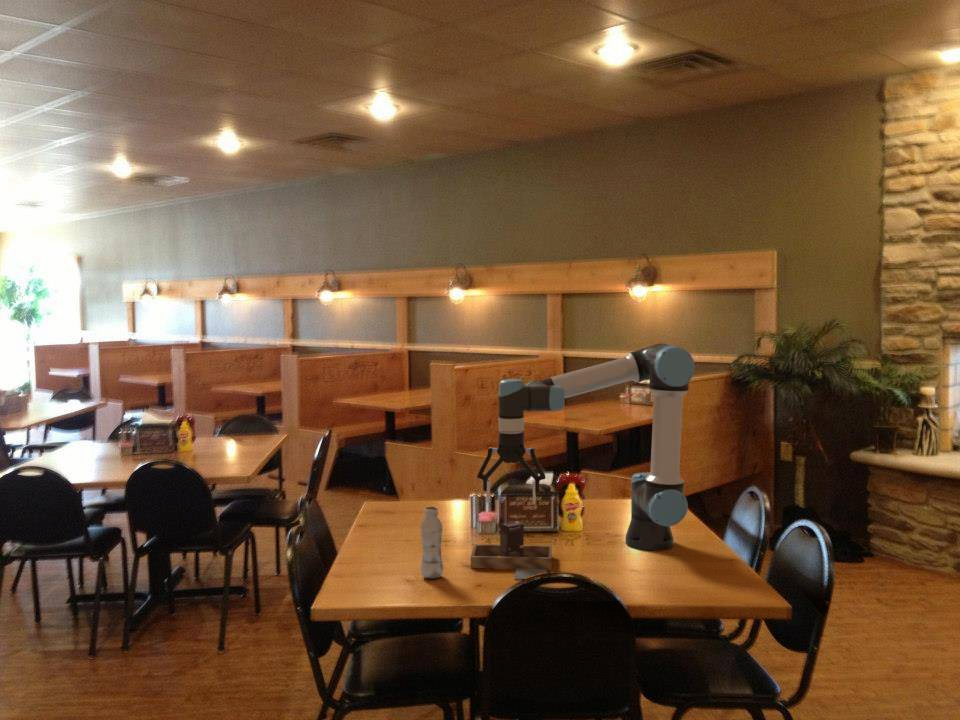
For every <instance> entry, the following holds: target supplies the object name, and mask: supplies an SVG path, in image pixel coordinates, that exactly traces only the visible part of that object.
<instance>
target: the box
mask: <svg viewBox="0 0 960 720" xmlns="http://www.w3.org/2000/svg"><path fill="white" fill-rule="evenodd" d="M524 528H525V524H524V523H522V522H521V521H518V520H514V521H512V520H511V521H506V522H502V523H500V538H499V540H500V541H499V542H500V543H499V545H500V557H523V545H524V539H525V533H524V532H525V529H524Z"/></svg>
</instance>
